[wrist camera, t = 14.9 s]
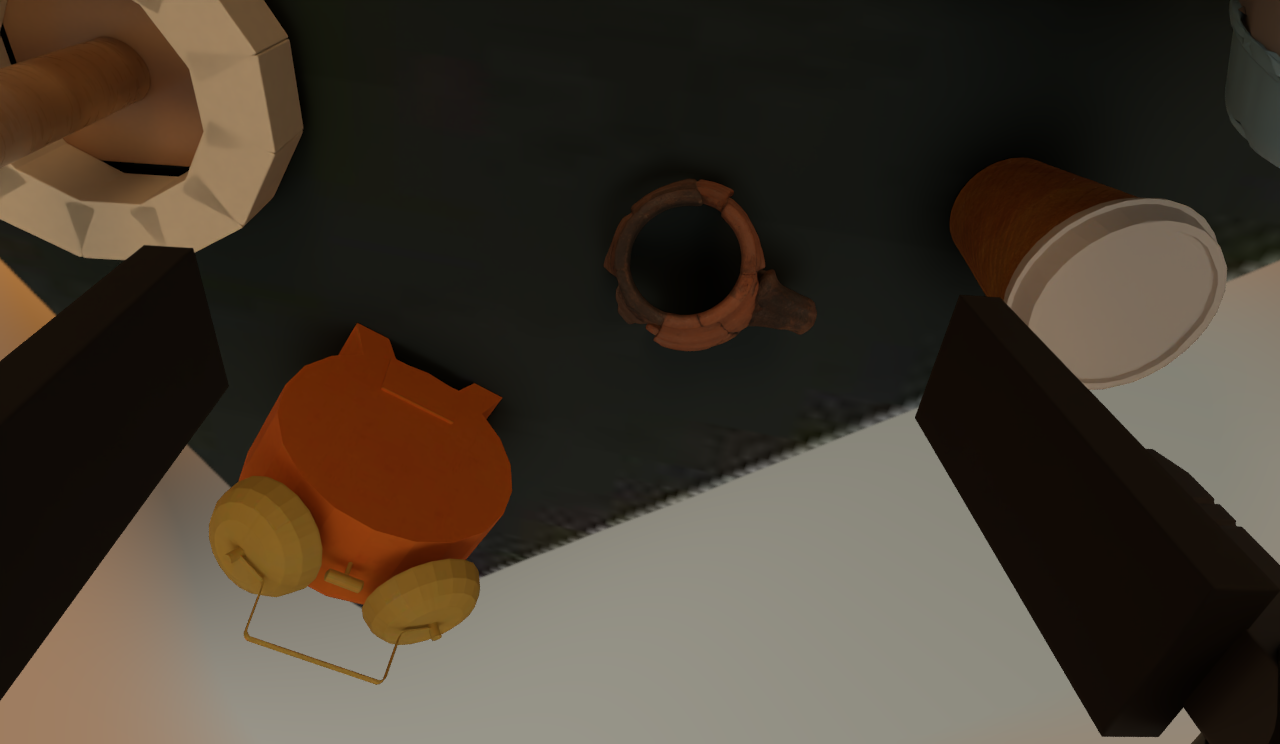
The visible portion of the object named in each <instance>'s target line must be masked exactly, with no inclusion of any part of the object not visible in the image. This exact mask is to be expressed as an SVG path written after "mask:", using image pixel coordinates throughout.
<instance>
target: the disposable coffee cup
mask: <svg viewBox="0 0 1280 744" xmlns="http://www.w3.org/2000/svg"><path fill="white" fill-rule="evenodd" d="M950 232H951V236H952V239H953V241H954V243H955V245H956V247H957V248H958V250H959V251H960V253H961V254H962V256H963V258H964V259H965V261H966V263H967V264H968V266H969V268H970V269H971V271H972V273H973V275H974V276H975V278H976V280H977V281H978V283H979V285H980V286H981V288H982V290H983V291H984V293H985V295H986V296H987V297H1000V298H1001V299H1002V300H1003V301H1004V302H1005V303H1006V304H1007V305H1008V306H1009V307H1010V308H1011V309H1012V310H1013V311H1014V312H1015V313H1016V314H1017V315H1018V316H1019V317H1020V318H1021V320H1022V321H1023V322H1024V323H1025V324H1026V325H1027V326H1028V327H1029V328H1030V329H1031V330H1032V331H1033V332H1034V333H1035V334H1036V335H1037V336H1038V337H1039V338H1040V339H1041V340H1042V341H1043V342H1044V344H1045V345H1046V346H1047V347H1048V348H1049V349H1050V350H1051V351H1052V352H1053V353H1054V354H1055V355H1056V356H1057V357H1058V358H1059V359H1060V360H1061V361H1062V362H1063V363H1064V364H1065V365H1066V367H1067V368H1068V369H1069V370H1070V371H1071V372H1072V373H1073V374H1074V375H1075V376H1076V377H1077V378H1078V379H1079V380H1080V381H1081V382H1082V383H1083V384H1084V385H1085V386H1086V387H1087V388H1088V389H1089V390H1095V389H1106V388H1110V387H1114V386H1119V385H1123V384H1127V383H1131V382H1134V381H1137V380H1139V379H1141V378H1144V377H1146V376H1148V375H1150V374H1152V373H1154V372H1156V371H1157V370H1159V369H1161V368H1163V367H1165V366H1166V365H1168V364H1169V363H1170V362H1172V361H1173V360H1174V359H1175V358H1177V357H1178V356H1179V355H1180V354H1182V353H1183V352H1185V351H1186V350H1187V349H1188V348H1189V347H1190V346H1191V345H1192V344H1193V343H1194V342H1195V341H1196V340H1197V339H1198V338H1199V337H1200V335H1201V334H1202V333H1203V332H1204V331H1205V329H1206V328H1207V327H1208V325H1209V323H1210V322H1211V320H1212V319H1213V317H1214V316H1215V314H1216V313H1217V310H1218V308H1219V305H1220V303H1221V300H1222V298H1223V295H1224V292H1225V286H1226V276H1227V266H1226V263H1225V260H1224V257H1223V254H1222V251H1221V247H1220V246H1219V245H1218V244H1217V241H1216V237H1215V233H1214V232H1213V230H1212V229H1211V227H1210V226H1209V224H1208V223H1207V222H1206V220H1205V219H1204V218H1203V217H1202V216H1201V215H1199V214H1198V213H1197V212H1195V211H1194V210H1193V209H1191V208H1190V207H1188V206H1185V205H1182V204H1179V203H1176V202H1173V201H1170V200H1167V199H1164V198H1138V197H1136V196H1133V195H1130V194H1127V193H1124V192H1122V191H1120V190H1116V189H1114V188H1111V187H1108V186H1105V185H1103V184H1100V183H1097V182H1095V181H1091V180H1089V179H1086V178H1083V177H1080V176H1077V175H1075V174H1072V173H1069V172H1067V171H1065V170H1061V169H1059V168H1055V167H1053V166H1051V165H1047V164H1045V163H1042V162H1040V161H1037V160H1034V159H1030V158H1023V157H1022V158H1010V159H1006V160H1003V161H999V162H996V163H994V164H992V165H990V166H988V167H986V168H985V169H983V170H982V171H980V172H979V173H977V174H976V175H975V176H974V177H973V178H972V179H970V180H969V181H968V183H967V184H966V185H965V186H964V187H963V189H962V190H961V191H960V193H959V195H958V196H957V198H956V200H955V202H954V205H953V208H952V211H951V215H950Z"/></svg>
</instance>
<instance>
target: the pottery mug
mask: <svg viewBox="0 0 1280 744" xmlns="http://www.w3.org/2000/svg"><path fill="white" fill-rule="evenodd" d="M733 194H734V191H733V190H732V189H730V188H728V187H726V186H724V185H721V184H718V183H715V182H712V181H707V180H699V181H696V180H695V179H685V180H681V181H677V182H674V183H671V184H669V185H666V186H663V187H661V188H658V189H656V190H654V191H652V192H651V193H649V194H647V195H646V196H644V197H643V198H642V199H640V200H639V201H638V202H636V203H635V204H634V205H633V206H632V207H631V213H630V214H629V215H627V216H625V217H624V218H623V219H622V220H621V221H620V223H619V225H618V227H617V229H616V232H615V235H614V237H613V240H612V243H611V246H610V248H609V250H608V253H607V255H606V258H605V262H604V268H606V269H607V270H608V271H609V272H610V273H611V274H613V275H614V276H616V277H617V280H618V283H619V285H618V287H617V289H616V300H617V302H618V312H619V314H620V315H621V316H622V317H623V319H624V320H625V321H626V322H627V323H629V324H633V323H638V324H645V323H648V324H647V325H646V329H647V330H648V331H649V332H651V333H653V334H654V335H655V337H654V341H655V342H657V343H659V344H660V345H661V346H663V347H667V348H670V349H675V350H683V351H698V350H703V349H708V348H710V347H712V346H716V345H719V344H722V343H724V342H726V341H728V340H730V339H732V338H734V337H735V336H736V335H738V334H739V333H740V332H741V330H742V329H744V328H746V327H747V326H761V327H769V328H775V329H786V330H790V331H793V332H795V333H797V334H799V335H800V334H803V333H805V332H806V331H808V330H809V329H810V328H811V327H812V326H813V325H814V322H815V319H816V316H817V311H816V307H815V303H814V301H813V300H811V299H810V298H808V297H805V296H803V295H800V294H798V293H796V292H795V291H793V290H791V289H788V288H786V287H785V286H783V285H782V284H781V283H780V282H779V281H778V279H777V276H776V273H775V270H773V269H771V270H768V271H765V270H763V269H764V268H765V260H764V255H763V251H762V248H761V245H760V240H759V237H758V235H757V233H756V231H755V229H754V227H753V225H752V223H751V221H750V219H749V217H748V215H747V214H746V213H745V211H744V210H743V209H742V208H741V207H740V206H739V205H738V204H737V203H736V202H735V201H734V200H733V199H731V198H729V197H731V196H733ZM702 204H706V205H708V206H711V207H714V208H716V209H717V210H718V211H720V212H721V213H722V214H721V217H722V218H723V219H724V220H725V221H726V222H727V223H728V224H729V225H730V227H731V228H732V229H733V231H734V233H735V235H736V237H737V239H738V242H739V245H740V250H741V267H740V275H739V277H738V280H737V282H736V284H735V286H734V287H733V289H732V290H731V292H730V293H729V294H728V296H727V297H726V298H725V299H724V300H723V301H721V302H720V303H719V304H718V305H716V306H714V307H713V308H711V309H709V310H707V311H704V312H701V313H698V314H692V315H677V314H672V313H668V312H663V311H661V310H659V309H657V308H656V307H654V306H652V305H651V304H650V303H649V302H648V301H646V300H645V298H644V297H643V296H642V295H641V293H640V292H639V291H638V289H637V287H636V285H635V283H634V281H633V278H632V275H631V272H630V256H631V250H632V247H633V244H634V241H635V239H636V237H637V235H638V233H639V232H640V231H641V229H642V228H643V227H644V226H645V225H646V223H647V222H648V221H649V220H651V219H652V218H654V217H655V216H656V215H658V214H660V213H662V212H663V211H666V210H668V209H671V208H674V207H680V206H701V205H702Z"/></svg>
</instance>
